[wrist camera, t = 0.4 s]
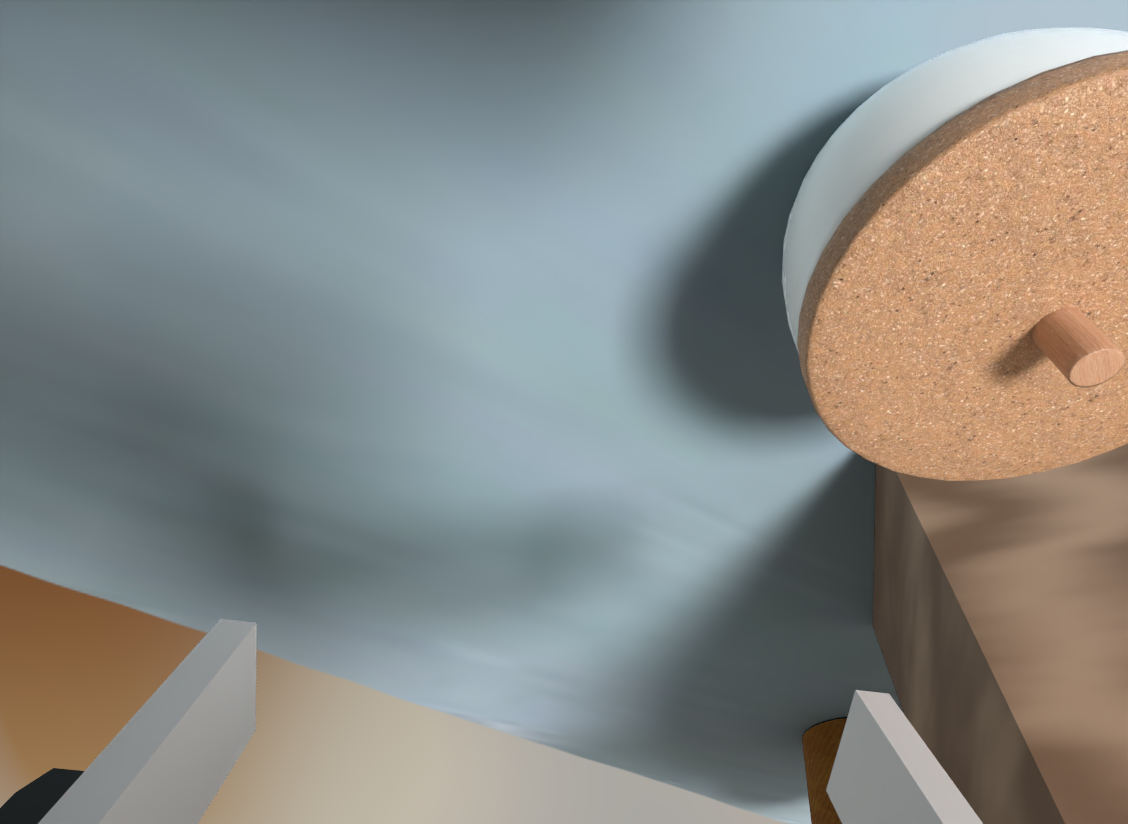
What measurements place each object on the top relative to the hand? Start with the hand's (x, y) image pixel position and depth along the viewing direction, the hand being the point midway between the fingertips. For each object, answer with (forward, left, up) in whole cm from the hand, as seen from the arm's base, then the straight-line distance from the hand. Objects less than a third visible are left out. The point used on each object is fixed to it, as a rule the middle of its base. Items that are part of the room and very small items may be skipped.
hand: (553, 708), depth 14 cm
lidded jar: (-8, +10, -14) cm, 19 cm away
